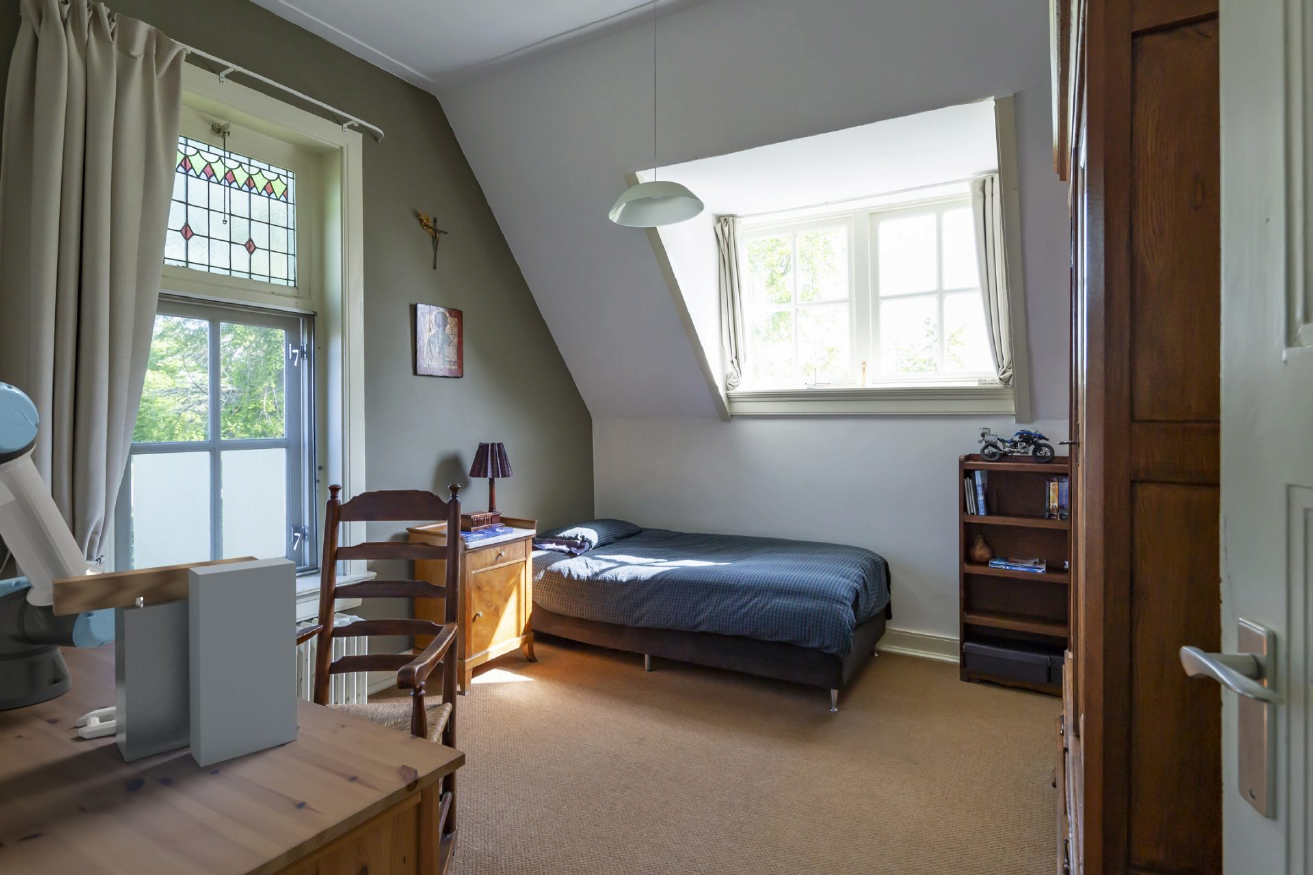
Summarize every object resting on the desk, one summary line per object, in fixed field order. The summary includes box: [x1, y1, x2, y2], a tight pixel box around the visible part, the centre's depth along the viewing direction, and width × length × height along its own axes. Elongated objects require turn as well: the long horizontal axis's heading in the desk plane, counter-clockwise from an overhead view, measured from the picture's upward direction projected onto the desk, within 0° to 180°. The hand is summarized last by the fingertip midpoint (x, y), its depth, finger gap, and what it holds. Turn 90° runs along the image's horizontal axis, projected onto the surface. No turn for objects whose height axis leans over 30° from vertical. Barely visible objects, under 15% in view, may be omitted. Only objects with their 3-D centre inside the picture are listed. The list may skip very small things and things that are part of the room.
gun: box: [76, 705, 116, 740], centre depth 128 cm, size 18×4×10 cm
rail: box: [52, 555, 260, 616], centre depth 120 cm, size 28×4×5 cm, turn 134°
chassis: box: [114, 597, 190, 763], centre depth 122 cm, size 10×16×26 cm, turn 134°
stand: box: [189, 556, 298, 768], centre depth 118 cm, size 7×14×30 cm, turn 134°
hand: (7, 486), depth 107 cm, fingers open, 13 cm apart
